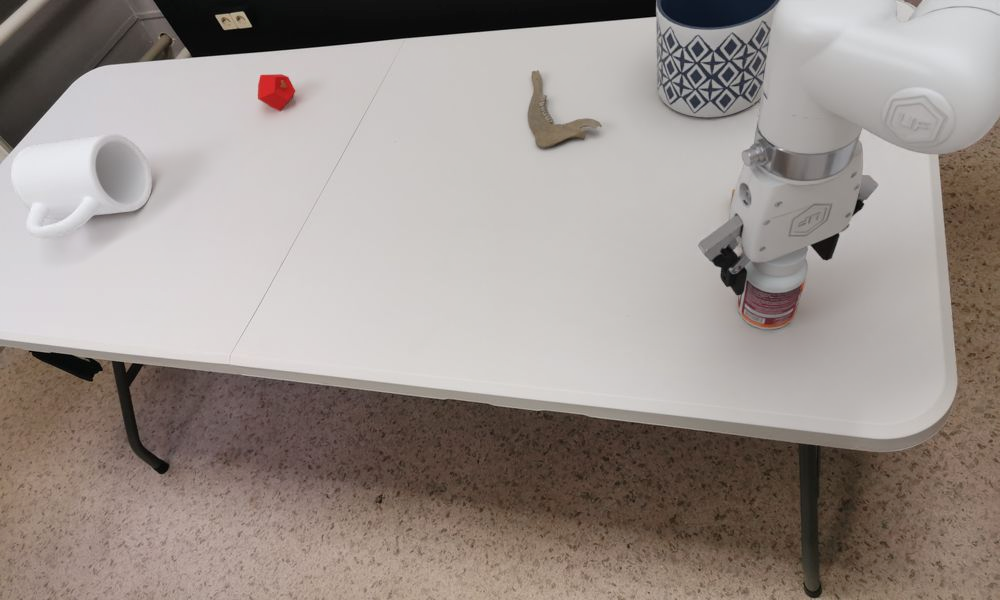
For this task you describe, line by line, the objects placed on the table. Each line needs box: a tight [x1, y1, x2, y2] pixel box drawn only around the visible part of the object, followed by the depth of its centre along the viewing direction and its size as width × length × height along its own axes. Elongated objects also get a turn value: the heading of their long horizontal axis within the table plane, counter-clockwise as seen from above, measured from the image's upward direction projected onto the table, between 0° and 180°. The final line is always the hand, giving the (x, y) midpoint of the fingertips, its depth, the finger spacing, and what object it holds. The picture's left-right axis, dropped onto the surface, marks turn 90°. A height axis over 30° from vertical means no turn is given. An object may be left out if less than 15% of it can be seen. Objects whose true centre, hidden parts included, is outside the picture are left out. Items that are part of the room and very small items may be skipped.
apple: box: [257, 73, 296, 112], centre depth 113 cm, size 7×7×8 cm
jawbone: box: [527, 69, 603, 148], centre depth 96 cm, size 9×20×2 cm, turn 28°
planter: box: [655, 0, 780, 118], centre depth 87 cm, size 16×16×14 cm
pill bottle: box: [737, 246, 809, 330], centre depth 65 cm, size 6×6×11 cm
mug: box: [10, 133, 153, 240], centre depth 103 cm, size 19×16×13 cm
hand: (775, 267), depth 63 cm, fingers open, 9 cm apart
